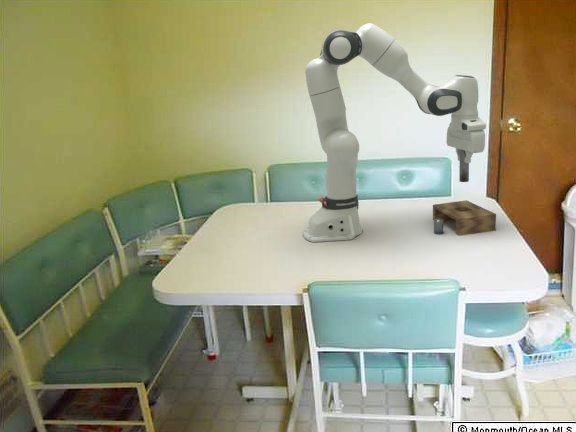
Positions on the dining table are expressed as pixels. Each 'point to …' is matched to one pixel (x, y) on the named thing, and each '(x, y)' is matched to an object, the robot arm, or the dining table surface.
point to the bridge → (466, 216)
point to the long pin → (463, 168)
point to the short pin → (438, 226)
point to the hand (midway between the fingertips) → (464, 161)
